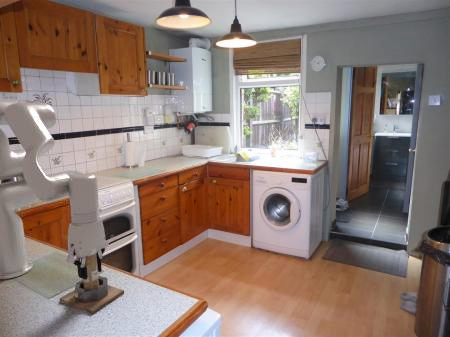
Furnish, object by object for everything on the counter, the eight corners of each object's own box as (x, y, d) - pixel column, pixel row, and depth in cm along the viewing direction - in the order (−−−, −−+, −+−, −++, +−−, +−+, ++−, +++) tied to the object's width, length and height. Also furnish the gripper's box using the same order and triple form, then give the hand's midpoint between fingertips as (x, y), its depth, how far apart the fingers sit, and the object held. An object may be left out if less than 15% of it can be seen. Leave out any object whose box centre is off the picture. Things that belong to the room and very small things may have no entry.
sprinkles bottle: (101, 289, 100) (97, 248, 97) (84, 294, 97) (81, 251, 95) (97, 283, 103) (94, 242, 101) (82, 287, 101) (78, 245, 99)
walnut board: (59, 301, 99) (59, 298, 98) (92, 282, 109) (92, 279, 109) (93, 314, 92) (92, 311, 92) (124, 293, 103) (123, 290, 103)
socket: (66, 299, 98) (65, 288, 97) (96, 282, 107) (95, 272, 107) (88, 307, 94) (87, 296, 93) (116, 289, 103) (115, 278, 103)
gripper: (100, 207, 105) (104, 260, 109) (50, 222, 91) (56, 284, 94) (117, 210, 102) (120, 265, 105) (68, 227, 87) (74, 291, 90)
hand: (90, 273), depth 99 cm, fingers closed on sprinkles bottle, 4 cm apart
